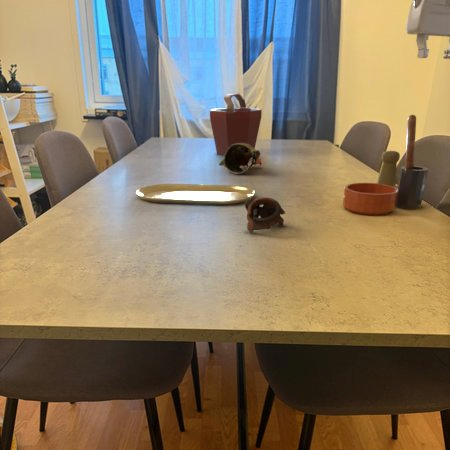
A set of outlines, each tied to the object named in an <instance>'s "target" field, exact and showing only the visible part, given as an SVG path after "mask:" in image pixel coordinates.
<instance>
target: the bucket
mask: <svg viewBox="0 0 450 450" xmlns="http://www.w3.org/2000/svg"><path fill="white" fill-rule="evenodd" d="M233 97H235V100H237V101H238V104H239V107H235V103H234V102H233V100H232V98H233ZM223 100H224V102H225V104H226V105H227V106H226V107H225V108H212V109H210V110H209V120H210V125H211V131H212V136H213V140H214V146H215V151H216V155H217V156H223V157H224V155H225V152H226V151H227V149H228V148H229V147H230V146H231V145H232V144H235V143H246V144H249V145H251V146H252V147H253V148H254V149H255V150H256V144H257V140H258V135H259V130H260V125H261V121H262V113H263V112H262V109H261V108H253V107H247V103H246V100H245V98H244V97H243V96H242V95H241V94H240V93H235V92H231V93H227V94H226V95H224V96H223Z"/></svg>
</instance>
